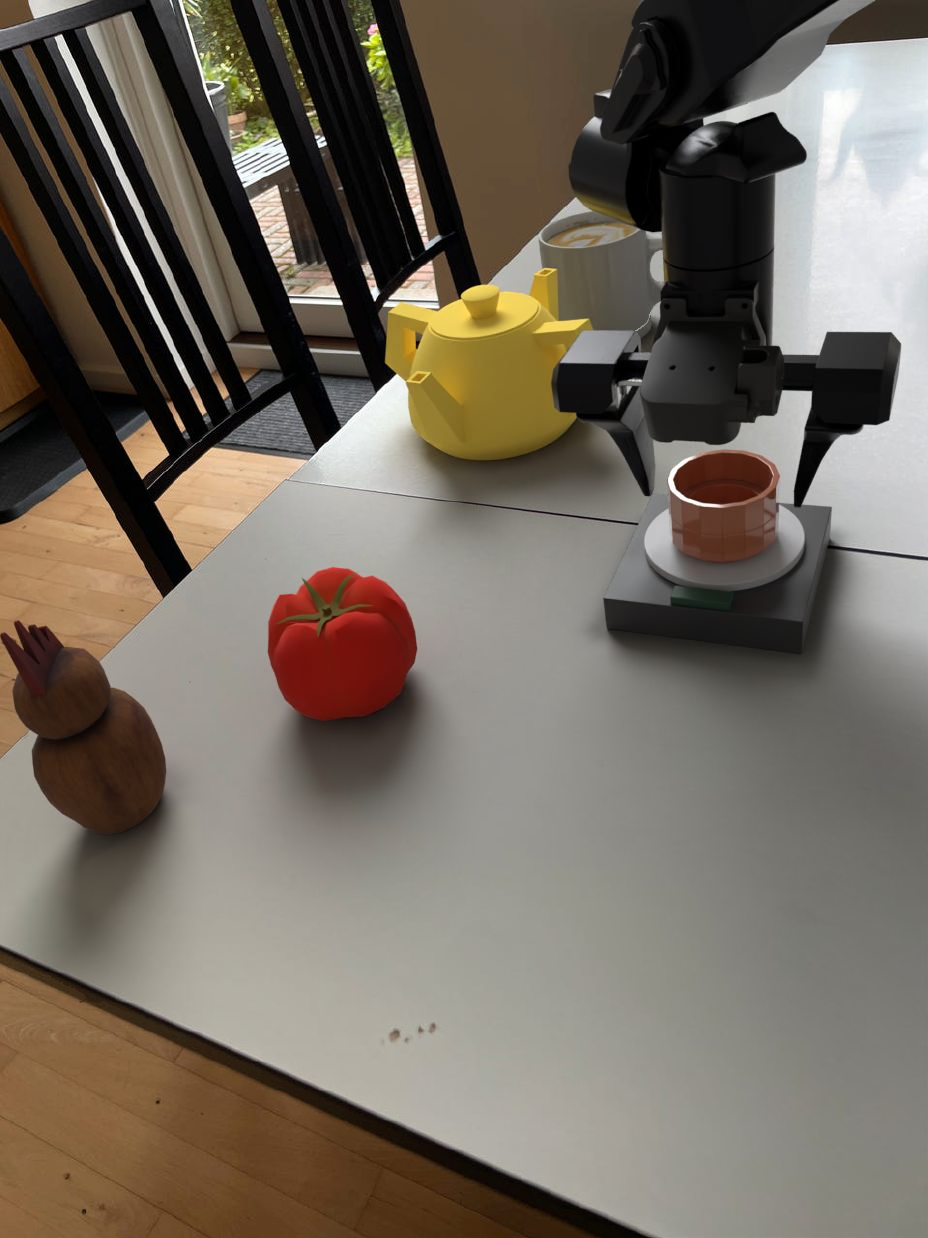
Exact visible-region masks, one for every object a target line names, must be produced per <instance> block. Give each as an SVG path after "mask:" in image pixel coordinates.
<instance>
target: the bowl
mask: <svg viewBox="0 0 928 1238" xmlns="http://www.w3.org/2000/svg"><path fill="white" fill-rule="evenodd" d="M780 486H781V474H780V472H779V470H778V468H777V466H776V464H775V463H774V462H773V461H771V460H769V459H768V458H766V457H765V456H764V455H761V454H758V453H755V452H751V451H747V450H744V449H743V450H742V449H726V448H724V449H717V450H710V451H702V452H700V453H697V454H695V455H691V456H689V457H685V459H683V460H682V461H680V462H679V463H678V464H676V465H675V466H673V467H672V468H671V470H670V472H669V474H668V477H667V478H666V489H667V495H668V507H669V525H670V534H671V538H672V542H673V544H674V545H675V546H676V547H677V548H679V549H680V550H681V551H682V552H683V553H685V554H687V555H690V556H692V557H695V558H698V559H700V560H706V561H711V562H733V561H738V560H742V559H746V558H749V557H751V556H753V555H756V554H758V553H761V552H762V551H764V550H765V549H766V548H768V547H769V546H770V545H771V544H772V543H773V542H774V541H775V539H776V536H777V532H778V528H779V503H780V493H781V491H780V489H781V487H780Z"/></svg>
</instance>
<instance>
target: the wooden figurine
mask: <svg viewBox="0 0 928 1238" xmlns="http://www.w3.org/2000/svg"><path fill="white" fill-rule="evenodd" d="M13 626H14V628H15V632H16V634H17V636H18V638H19V639H18V640H19V642H20V644H21V646H20V645H19V644H18V643H17V642H16V641H15V640H14V639H13V638H12V637H11V636H10V635H9V634H8V633H7V632H5V631H4V632H1V633H0V640H1V642H2V644H3V646H4V647H5V649H6V652H7V653H8V655H9V657H10V659H11V661H12V663H13V664H14V667H15V668H16V671H17V672H18V673H17V674H16V677H15V680H14V682H13V683H14V684H13V687H12V692H11V693H12V699H13V706H14V710H15V713H16V714H17V716H18V719H19V720H20V721H21V722H22V724H23V726H24V727H25V728H27V729H28V730H30V731H31V732H32V733H34V734H36V735H37V736H36V738H35V741H34V743H33V746H32V749H31V762H32V770H33V777H34V779H35V781H36V783H37V785H38V787H39V789H40V791H41V793H42V794H43V795H44V797H45V798H46V800H47V801H48V802H49V803H50V805H51V806H52V807H54V808H55V809H56V810H57V811H58V812H59V813H61V815H63V816H65V817H66V818H69V819H70V820H72V821H74V822H75V823H77V824H79V825H80V826H81V827H82V828H85V829H87V830H89V831H91V832H94V833H99V834H104V835H110V834H111V835H112V834H117V833H122V832H126V831H127V830H129V829H132V828H134V827H135V826H137V825H138V824H140V823H141V822H142V821H143V820H145V819H146V818H147V817H148V816H149V815H150V814H151V813H152V812H153V811H154V810H155V809H156V808H157V805H158V804H159V802H160V799H161V798H162V796H163V794H164V790H165V786H166V781H167V780H166V779H167V763H166V762H167V761H166V755H165V750H164V747H163V744H162V741H161V738H160V736H159V734H158V731H157V729H156V726H155V725H154V722H153V720H152V718H151V717H150V715H149V713H148V711H147V710H146V708H145V707H144V706H143V705H142V704H141V703H140V702H139V701H138V700H137V699H136V698H134V697H133V696H131V694H129V693H127V692H126V691H125V690H122V689H120V688H116V687H112V686H111V684H110V681H109V678H108V676H107V674H106V671H105V669H104V667H103V665H102V664H101V662H100V661H99V660H98V659H97V658H96V657H95V656H94V655H92V654H91V653H90V652H89V651H88V650H86V648H83V647H73V646H64V645H63V643H62V642H61V641H60V639H59V638H58V637H57V636H56V634H54V633H53V631H52V630H51V629H50V628H49V626H47V625H41V626H37V625H36V624H28V626H27V628H26V627H25V626H24V624H23V623H22V622H21V621H20V620H19V619H18V620H17V619H16V620H14V622H13Z"/></svg>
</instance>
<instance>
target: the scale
mask: <svg viewBox="0 0 928 1238" xmlns="http://www.w3.org/2000/svg"><path fill="white" fill-rule="evenodd" d="M832 513H833V507H832V506H827V505H816V504H815V505H813V504H802V506H801V507H800V508H795V507H794V503H788V502H787V503H786V502H779V528H778V532H777V536H776V539H775V541H774V542H773V543H772V544H771V545H770V546H769V547H768V548H766V549H765V550H764V551H762V552H761V553H758V554H756V555H753V556H751V557H749V558H746V559H742V560H738V561H733V562H711V561H706V560H700V559H698V558H695V557H692V556H690V555H687V554H685V553H683V552H682V551H681V550H680V549H679V548H677V547H676V546H675V545H674V544H673V542H672V538H671V534H670V525H669V507H668V494H664V493H663V494H661V493H652V495H651V496H650V497H649V501H648V503H647V504H646V507H645V508H644V511H643V513H642V516H641V518H640V519H639V522H638V524H637V526H636V528H635V530H634V532H633V535H632V536H631V538H630V541H629V543H628V544H627V547H626V549H625V552H624V554H623V555H622V558H621V560H620V562H619V564H618V566H617V569H616V571H615V572H614V574H613V577H612V579H611V581H610V583H609V585H608V588H607V589H606V592H605V594H604V596H603V598H602V599H603V608H604V609H603V610H604V618H605V627H606V629H608V630H615V631H623V632H631V633H632V632H633V633H639V634H647V635H655V636H663V637H669V638H670V637H671V638H677V639H678V638H679V639H686V640H691V641H692V640H694V641H702V642H707V643H717V644H723V645H732V646H739V647H747V648H754V649H762V650H769V651H777V652H786V653H792V654H801V655H802V654H803V651H804V646H805V642H806V639H807V634H808V630H809V626H810V621H811V617H812V613H813V609H814V605H815V601H816V598H817V597H816V596H817V592H818V588H819V584H820V580H821V577H822V572H823V567H824V564H825V559H826V555H827V551H828V547H829V543H830V539H831V529H832V528H831V527H832Z"/></svg>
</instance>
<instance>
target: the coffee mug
mask: <svg viewBox="0 0 928 1238" xmlns="http://www.w3.org/2000/svg"><path fill="white" fill-rule="evenodd" d="M538 246H539V254H540V262H541V270H542V269H544V268H550V269H557V280H558V315H559V321H568V320H579V319H589V320H590V322H591V325H592V327H593V330H623V331H635V330H637V329H638V328H640V327H641V326H642V325H644V324H645V323H646V322H647V320H648V318H649V314H650V312H651V310H652V311H653V309H654V307H655V306H656V305H657V304H660V303H661V294H660V291H661V290H662V288H663V286H664V280H663V281H658V280H656V279H654V277H653V275H652V273H651V262H652V258H653V257H654V255H655V254H656V253H657V252H659V251H663V248H662V233H660V234H658V233H657V234H648V233H647V231H643V230H641V229H638V228H636V227H633V226H630V225H628V224H625V223H623V222H620V221H618V220H615V219H612V218H610V217H607V216H605V215H602V214H600V213H597V212H594V211H592V210H588V211H582V212H577V213H573V214H570V215H567V216H563V217H561V218H559V219H556V220H554V221H552V222H550V223H548V224H547V225H546V226H544V227H543V228H542V229H541V230H540V231H539V233H538ZM651 313H652V312H651ZM652 323H653V321H652V314H651V315H650V318H649V321H648V323H647V324H646V325H645V326H644V327H642V328H641V329H639V330H638V331H636V332H637V334H638V335H639V337H640V340H641V339H642V338H644V337H645V336H646V335H647V334H649V332H650V331H651V329H652V325H653V324H652Z"/></svg>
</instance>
